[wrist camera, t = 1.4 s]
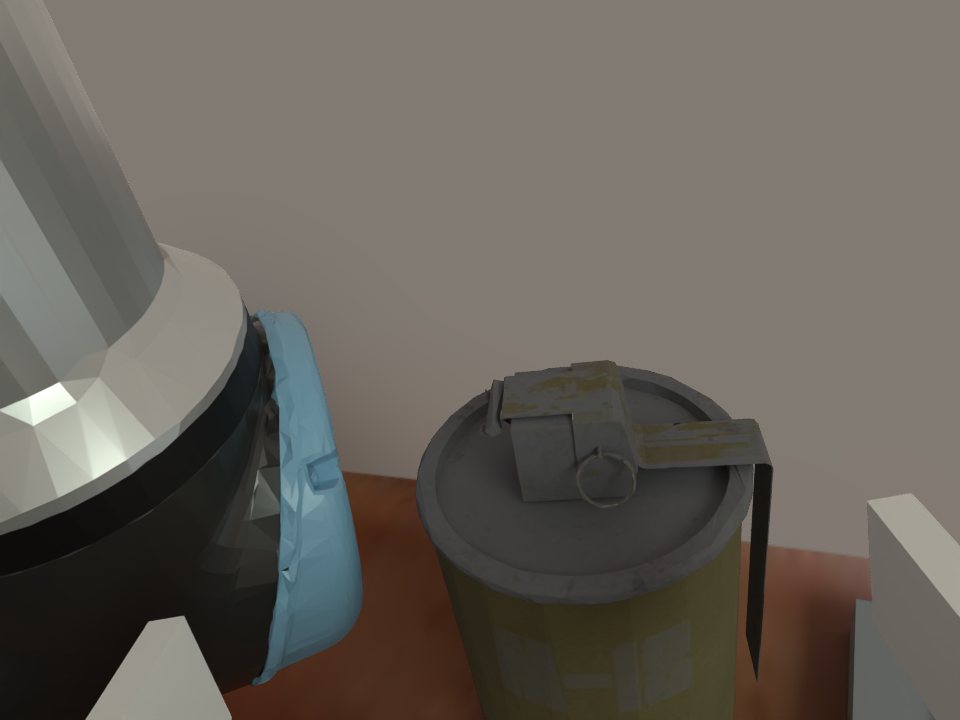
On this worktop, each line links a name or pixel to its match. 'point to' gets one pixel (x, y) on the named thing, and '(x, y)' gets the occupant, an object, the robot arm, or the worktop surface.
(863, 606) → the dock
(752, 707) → the worktop surface
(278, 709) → the worktop surface
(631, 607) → the canister
